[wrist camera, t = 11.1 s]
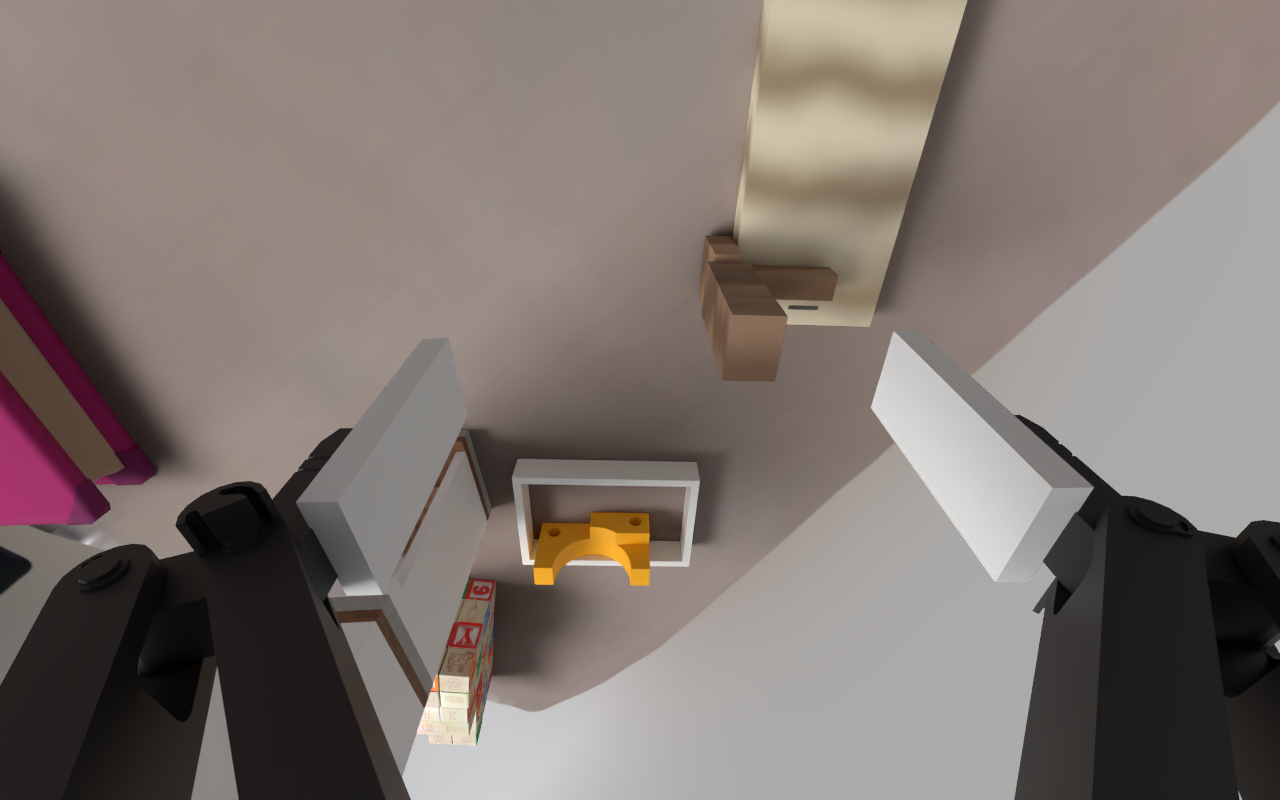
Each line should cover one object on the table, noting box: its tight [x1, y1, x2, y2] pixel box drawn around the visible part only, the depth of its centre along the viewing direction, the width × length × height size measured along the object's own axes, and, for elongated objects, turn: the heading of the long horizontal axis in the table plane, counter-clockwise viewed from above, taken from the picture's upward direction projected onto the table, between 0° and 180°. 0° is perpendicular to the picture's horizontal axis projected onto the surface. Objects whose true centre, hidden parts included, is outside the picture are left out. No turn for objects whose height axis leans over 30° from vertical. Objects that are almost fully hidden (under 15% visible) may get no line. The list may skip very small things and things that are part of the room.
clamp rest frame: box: [512, 459, 700, 567], centre depth 54 cm, size 13×19×3 cm
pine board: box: [732, 0, 967, 327], centre depth 37 cm, size 22×12×3 cm, turn 178°
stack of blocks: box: [416, 579, 496, 746], centre depth 61 cm, size 21×6×12 cm, turn 170°
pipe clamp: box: [533, 512, 650, 586], centre depth 54 cm, size 12×4×6 cm, turn 88°
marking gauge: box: [699, 236, 839, 381], centre depth 34 cm, size 5×10×16 cm, turn 88°
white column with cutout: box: [191, 429, 492, 800], centre depth 37 cm, size 11×11×35 cm
